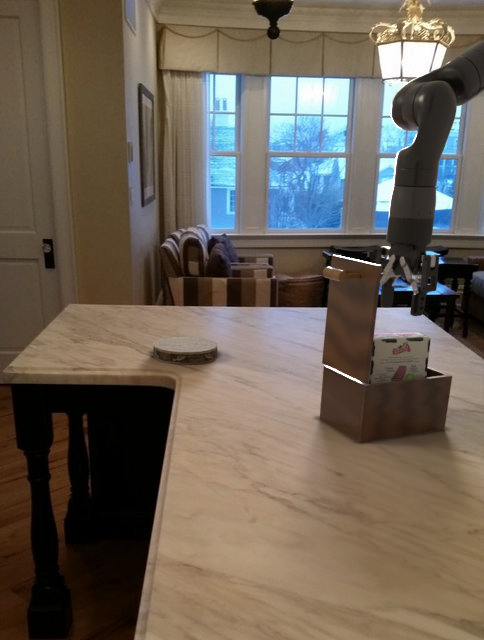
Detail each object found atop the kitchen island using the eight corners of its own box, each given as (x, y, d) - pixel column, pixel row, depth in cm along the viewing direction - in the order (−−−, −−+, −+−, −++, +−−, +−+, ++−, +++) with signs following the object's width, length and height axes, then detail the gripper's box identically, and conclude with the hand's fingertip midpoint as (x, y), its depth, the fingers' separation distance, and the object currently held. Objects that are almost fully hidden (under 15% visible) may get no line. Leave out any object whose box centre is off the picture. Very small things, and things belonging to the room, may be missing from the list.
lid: (335, 254, 123) (310, 255, 121) (382, 265, 111) (355, 265, 109) (325, 363, 130) (301, 364, 128) (368, 383, 118) (342, 385, 116)
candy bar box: (409, 415, 136) (420, 331, 130) (421, 424, 131) (433, 337, 125) (355, 418, 133) (363, 332, 127) (365, 427, 129) (374, 339, 123)
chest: (398, 409, 141) (405, 357, 137) (444, 432, 130) (452, 375, 126) (319, 420, 134) (323, 365, 130) (359, 445, 122) (366, 386, 118)
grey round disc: (156, 365, 167) (156, 353, 165) (150, 348, 181) (150, 337, 180) (222, 363, 170) (223, 351, 169) (211, 347, 184) (211, 336, 183)
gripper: (458, 217, 114) (444, 317, 120) (403, 211, 126) (393, 302, 132) (420, 218, 111) (409, 320, 117) (368, 212, 123) (360, 305, 129)
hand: (400, 311), depth 124 cm, fingers open, 8 cm apart
